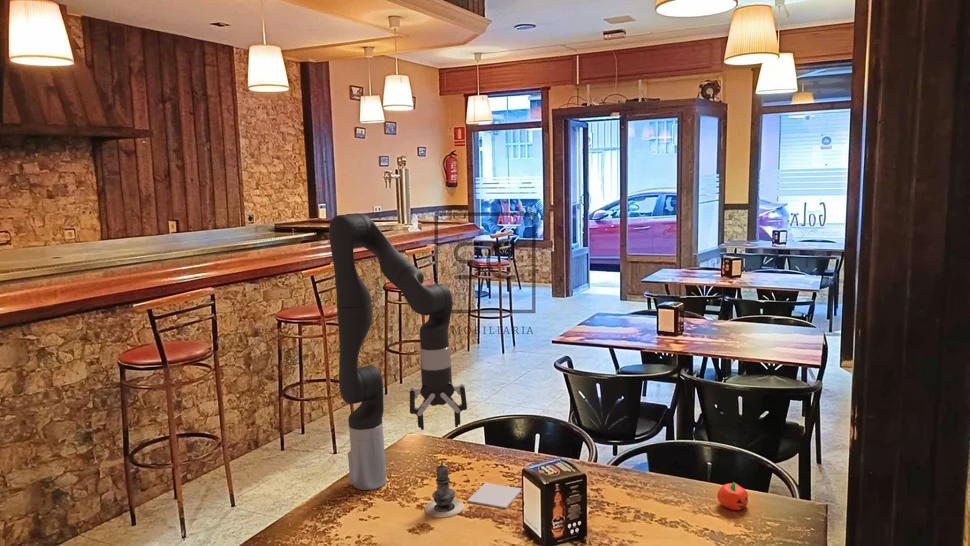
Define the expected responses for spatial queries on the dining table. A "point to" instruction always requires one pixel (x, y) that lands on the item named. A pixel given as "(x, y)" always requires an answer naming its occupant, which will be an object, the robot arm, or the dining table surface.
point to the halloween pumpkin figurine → (733, 496)
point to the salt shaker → (443, 491)
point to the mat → (495, 495)
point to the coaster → (432, 512)
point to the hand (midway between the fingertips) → (439, 427)
